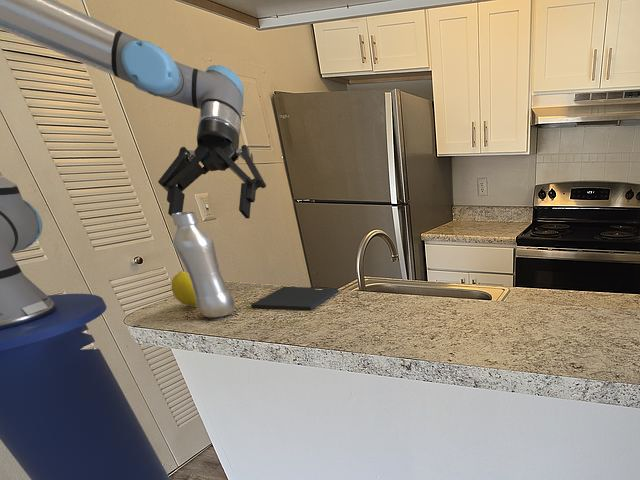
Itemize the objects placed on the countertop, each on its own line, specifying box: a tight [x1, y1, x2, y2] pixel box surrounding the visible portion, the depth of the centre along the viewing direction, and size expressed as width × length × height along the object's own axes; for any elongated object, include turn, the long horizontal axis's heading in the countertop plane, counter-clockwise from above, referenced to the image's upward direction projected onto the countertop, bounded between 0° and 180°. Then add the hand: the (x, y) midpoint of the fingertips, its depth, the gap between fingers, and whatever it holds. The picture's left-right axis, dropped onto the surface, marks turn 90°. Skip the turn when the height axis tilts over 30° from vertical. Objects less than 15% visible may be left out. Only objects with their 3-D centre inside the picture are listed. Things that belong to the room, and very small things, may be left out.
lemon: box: [170, 270, 198, 308], centre depth 86 cm, size 6×6×8 cm
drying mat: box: [250, 286, 339, 311], centre depth 90 cm, size 14×12×1 cm
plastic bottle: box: [171, 211, 236, 319], centre depth 78 cm, size 6×7×20 cm
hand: (209, 216), depth 82 cm, fingers open, 13 cm apart
